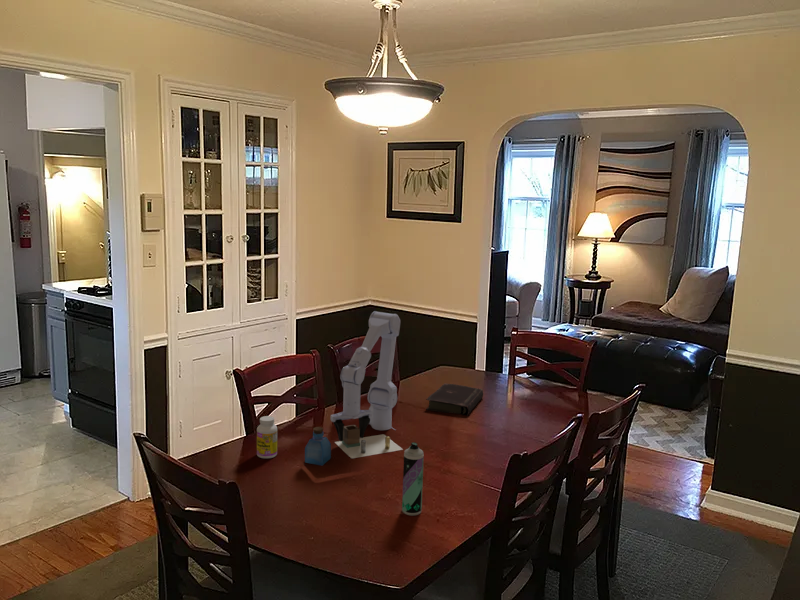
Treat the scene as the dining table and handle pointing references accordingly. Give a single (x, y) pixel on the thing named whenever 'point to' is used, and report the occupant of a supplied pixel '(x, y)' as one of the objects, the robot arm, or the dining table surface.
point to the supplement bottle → (267, 438)
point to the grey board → (369, 447)
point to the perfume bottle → (318, 448)
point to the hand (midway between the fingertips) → (350, 438)
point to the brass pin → (387, 442)
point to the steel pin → (363, 446)
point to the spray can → (412, 480)
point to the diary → (454, 399)
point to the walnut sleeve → (351, 436)
